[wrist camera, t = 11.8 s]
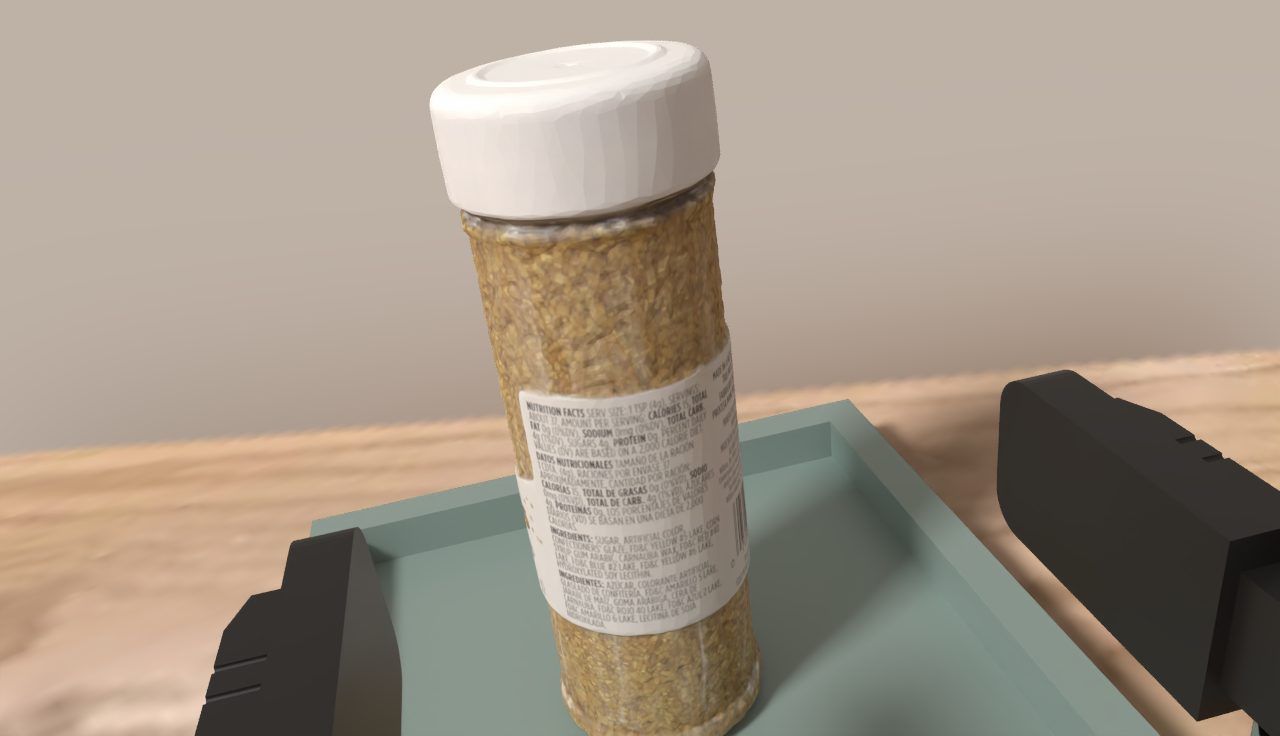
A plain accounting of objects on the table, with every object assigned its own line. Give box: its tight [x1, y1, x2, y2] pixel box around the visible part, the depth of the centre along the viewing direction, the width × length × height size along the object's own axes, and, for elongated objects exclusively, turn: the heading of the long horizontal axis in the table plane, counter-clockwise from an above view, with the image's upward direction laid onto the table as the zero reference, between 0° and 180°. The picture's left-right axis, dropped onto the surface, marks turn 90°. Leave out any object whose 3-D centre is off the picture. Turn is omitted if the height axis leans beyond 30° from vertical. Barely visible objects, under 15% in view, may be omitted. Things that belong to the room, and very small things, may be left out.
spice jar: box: [430, 40, 762, 736], centre depth 18 cm, size 5×5×13 cm
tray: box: [310, 399, 1160, 736], centre depth 21 cm, size 16×16×2 cm
